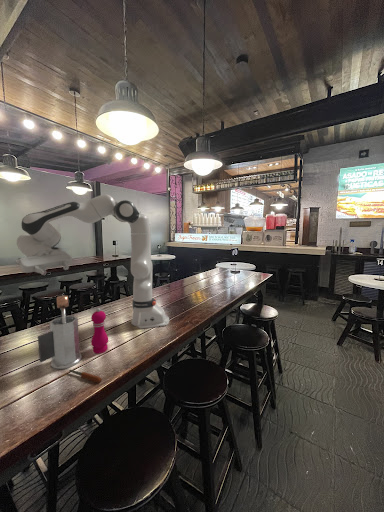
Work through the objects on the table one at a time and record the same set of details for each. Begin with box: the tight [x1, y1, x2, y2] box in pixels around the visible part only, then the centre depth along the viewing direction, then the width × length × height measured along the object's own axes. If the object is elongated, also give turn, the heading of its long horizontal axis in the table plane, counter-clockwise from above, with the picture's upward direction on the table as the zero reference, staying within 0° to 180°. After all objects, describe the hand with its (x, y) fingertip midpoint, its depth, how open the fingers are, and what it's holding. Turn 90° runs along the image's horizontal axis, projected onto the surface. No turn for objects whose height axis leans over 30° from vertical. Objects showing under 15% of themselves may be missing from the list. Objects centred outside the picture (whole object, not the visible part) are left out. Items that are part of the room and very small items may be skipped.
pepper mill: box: [90, 307, 109, 354], centre depth 98 cm, size 7×7×20 cm
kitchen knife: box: [68, 369, 102, 384], centre depth 80 cm, size 16×1×2 cm, turn 69°
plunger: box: [56, 294, 70, 324], centre depth 89 cm, size 6×6×26 cm
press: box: [37, 315, 82, 371], centre depth 88 cm, size 11×14×18 cm
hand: (56, 270), depth 95 cm, fingers open, 8 cm apart
